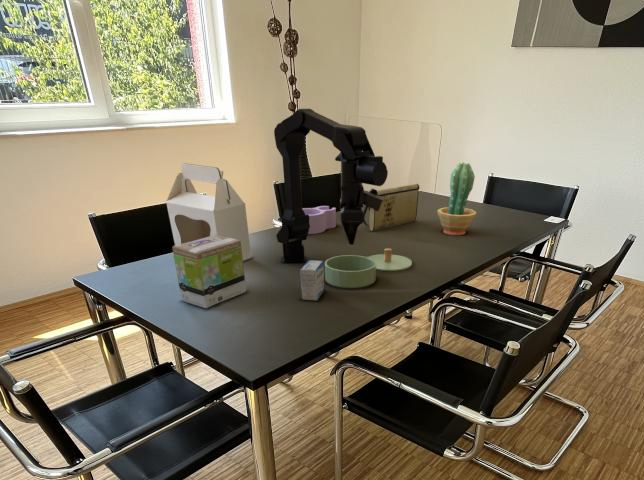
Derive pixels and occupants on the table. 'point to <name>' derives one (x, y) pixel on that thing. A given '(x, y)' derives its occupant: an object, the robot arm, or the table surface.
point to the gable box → (206, 209)
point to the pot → (350, 271)
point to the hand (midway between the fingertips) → (351, 239)
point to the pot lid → (390, 261)
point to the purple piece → (320, 218)
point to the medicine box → (312, 280)
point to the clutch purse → (394, 207)
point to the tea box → (209, 270)
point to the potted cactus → (458, 201)
